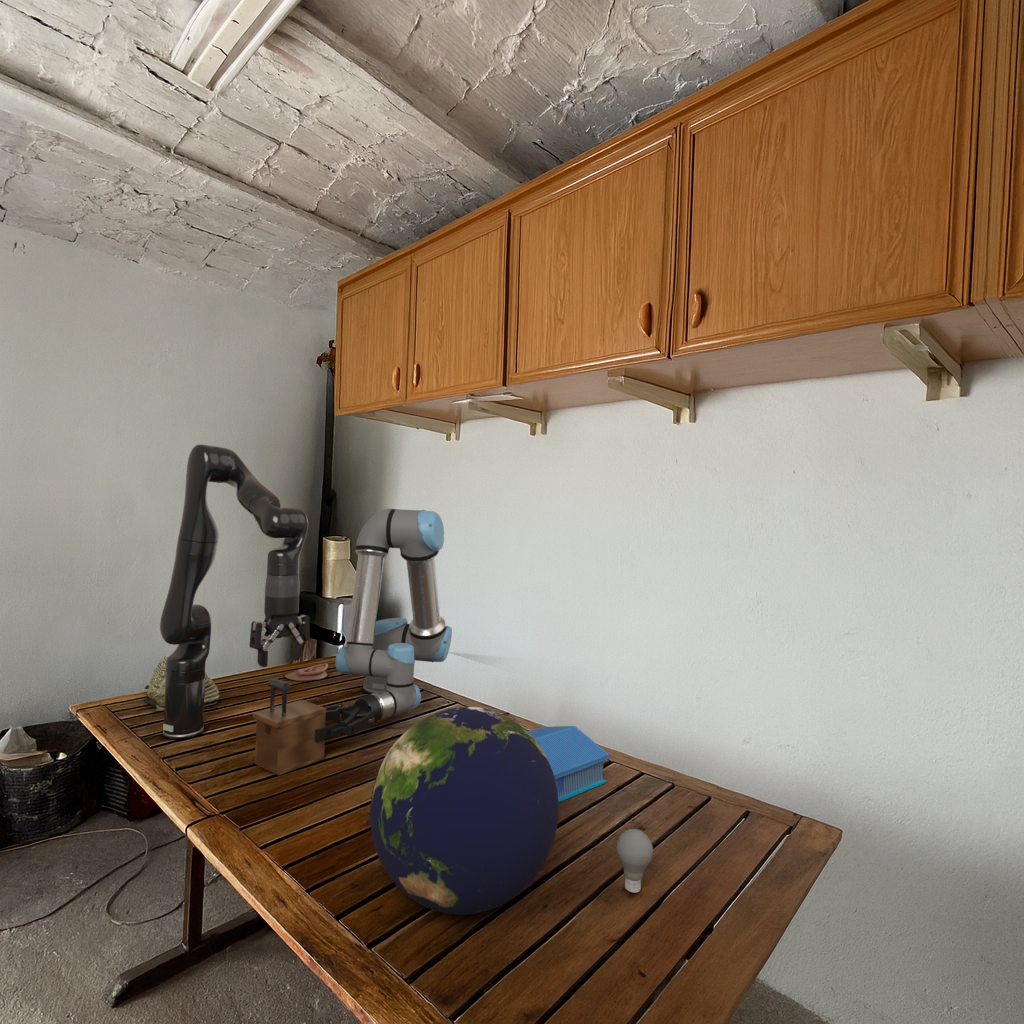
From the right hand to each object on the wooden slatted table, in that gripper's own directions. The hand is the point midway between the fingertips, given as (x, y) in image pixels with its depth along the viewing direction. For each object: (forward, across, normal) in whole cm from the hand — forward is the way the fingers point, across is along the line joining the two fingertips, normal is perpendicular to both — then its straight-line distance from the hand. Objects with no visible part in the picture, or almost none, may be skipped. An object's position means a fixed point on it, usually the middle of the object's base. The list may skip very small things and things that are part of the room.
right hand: (302, 730), depth 153 cm
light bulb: (-3, -86, -6) cm, 86 cm away
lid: (+4, 0, +5) cm, 6 cm away
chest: (+3, 0, -6) cm, 7 cm away
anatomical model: (-42, +56, -6) cm, 70 cm away
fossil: (+1, +55, -6) cm, 56 cm away
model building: (-20, -50, -6) cm, 54 cm away
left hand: (+7, 0, +18) cm, 19 cm away
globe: (+16, -65, -6) cm, 67 cm away
